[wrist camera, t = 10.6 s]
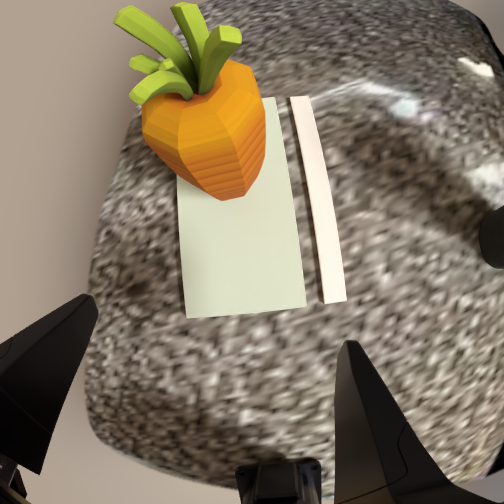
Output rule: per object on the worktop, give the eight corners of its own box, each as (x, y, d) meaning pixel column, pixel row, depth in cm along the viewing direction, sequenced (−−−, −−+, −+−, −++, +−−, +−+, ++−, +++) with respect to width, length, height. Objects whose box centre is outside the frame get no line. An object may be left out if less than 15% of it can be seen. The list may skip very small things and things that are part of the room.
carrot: (285, 198, 19) (300, 4, 5) (224, 240, 19) (99, 109, 5) (244, 146, 20) (199, -42, 5) (187, 184, 20) (64, 31, 5)
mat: (305, 306, 19) (306, 306, 18) (189, 317, 20) (186, 318, 19) (274, 101, 21) (274, 96, 21) (178, 116, 22) (176, 113, 21)
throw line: (345, 300, 19) (346, 300, 18) (323, 303, 19) (324, 303, 19) (308, 98, 21) (308, 95, 21) (290, 99, 21) (290, 97, 21)
